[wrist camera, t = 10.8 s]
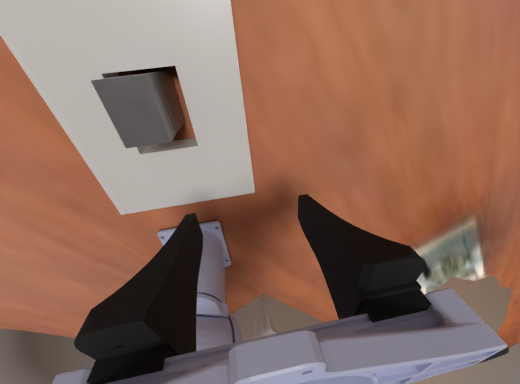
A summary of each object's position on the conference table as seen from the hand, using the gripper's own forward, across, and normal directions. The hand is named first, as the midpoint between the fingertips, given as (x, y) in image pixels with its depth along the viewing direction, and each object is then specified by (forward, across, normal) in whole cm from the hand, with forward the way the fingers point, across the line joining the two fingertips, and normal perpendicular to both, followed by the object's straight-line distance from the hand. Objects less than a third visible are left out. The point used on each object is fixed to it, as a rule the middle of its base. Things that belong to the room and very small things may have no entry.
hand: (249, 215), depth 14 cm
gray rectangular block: (+10, +6, -7) cm, 13 cm away
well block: (+9, +6, -6) cm, 13 cm away
